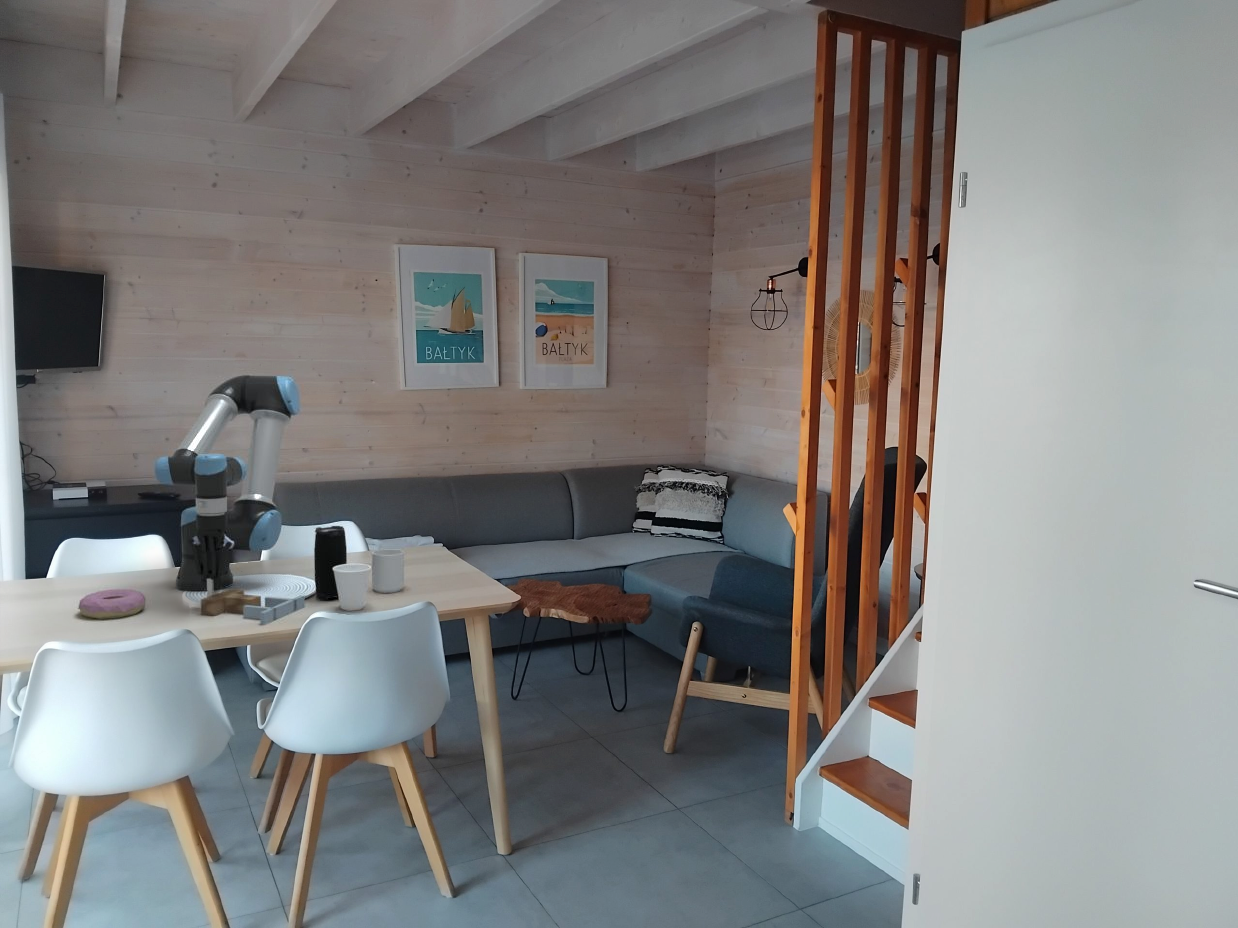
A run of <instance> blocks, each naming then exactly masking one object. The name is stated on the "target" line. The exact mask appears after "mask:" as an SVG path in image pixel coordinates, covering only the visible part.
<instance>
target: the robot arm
mask: <svg viewBox="0 0 1238 928" xmlns="http://www.w3.org/2000/svg"><path fill="white" fill-rule="evenodd" d="M300 408H301V397H300V391H299V388H298V385H297V383H296V381H295V380H294V379H293V378H292V377H290V376H285V375H284V376H283V375H282V376H280V375H248V374H246V375H245V374H243V375H242V374H241V375H237V376H234V377H232V378H229V379H228V380H225V381H224V382H222V383H220V384H219V385H218V386H217V387H215V388H214V389H213V390H212V391H211V392H210V393H209V395H208V396H207V398H206V399H205V402H204V409H203V410H202V411H201V413H200V415H199V416H198V418H197V419H196V420H195V422H194V424H193V425H192V427H191V428H190V430H189V431H188V432H187V434H186V436H185V437H184V438H183V440H182V441H181V443H180V444H179V446H178V447H177V449H176V450H175V452H174V453H173V454H172V456H169V455H167V456H161V457H159V458H157V460H156V462H155V466H154V475H155V476H154V477H155V479H156V480H157V482H158V483H159V484H161V485H171V486H194V487H195V506H193V507H192V506H191V507H188V508H186V509H184V510H183V511H182V512H181V516H180V517H181V520H180V531H181V533H180V534H181V536H180V537H181V554H182V555H181V557H182V558H181V564H180V567H179V568H178V573H177V576H176V579H175V580H176V581H175V583H176V586H175V587H176V588H177V589H179V590H183V591H189V590H203V591H206V595H207V596H206V597H209V596H212V595H215V594H218V593H220V592H219V591H220V590H221V589H224V588H227V587H226V586H228V587H229V585H230V586H232V585H233V584H234V575H233V573H232V570H231V567H230V564H231V559H232V555H233V551H252V552H258V551H259V552H260V551H269V550H270V549H272V548H273V547H274V546H275V545H276V543H277V542H278V540H279V538H280V535H281V532H282V525H283V524H282V519H283V518H282V515H281V513H280V511H278V510H277V505H276V504H275V503H274V502H273V499H274V491H275V486H276V485H275V484H276V478H277V472H278V465H279V460H280V454H281V449H282V448H281V447H282V441H283V435H284V428H285V426H287V425H289V424H290V423H291V419H292V416H296V415H299V412H300V410H301V409H300ZM244 414H248V415H249V418H250V419H251V420H252V421H253V423H252V424H253V425H252V431H251V437H250V443H249V448H248V454H247V460H246V464H245V462H244V461H243V460H242V459H241V458H238V457H236V456H226V455H225V454H224V453H223V454H222V453H210V452H211V451H212V449H213V447H214V446H215V445H216V443H217V441H218V439H220V436H221V435H222V433H223V432H224V430H225V428H226V427H227V425H228V424H229V422H231V421H233V420H235V419H236V417H238V415H244ZM241 482H243V483H242V487H241V495H240V497H238V498H237V499H235V500H234V502H233V508H231V509H228V490H227V489H228V487H231V486H235V485H238V484H239V483H241ZM223 587H224V588H223Z"/></svg>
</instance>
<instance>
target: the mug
mask: <svg viewBox="0 0 1238 928" xmlns="http://www.w3.org/2000/svg"><path fill="white" fill-rule="evenodd" d="M371 552H372V553H371V574H372V575H371V587H372V589H373V590H374V591H375V592H376V593H381V594H391V593H392V594H394V593H398V592H400V591H401V590H403V588H404V585H405V564H404V563H405V557H404V556H405V553H404V550H401V549H397V548H394V549H393V548H382V549H376V550H374V551H371Z"/></svg>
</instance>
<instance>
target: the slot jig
mask: <svg viewBox="0 0 1238 928" xmlns="http://www.w3.org/2000/svg"><path fill="white" fill-rule="evenodd" d="M305 599H306V598H305V595H298V596H295V597H294V598H287V597H286V598H284V597H278V596H277V597H275V596H266V597H264V606H262V605H261V606H250V605H245V606H243V614H242V615H243V619H244V618H245V619H252V620H254V619H255V620H259V623H260V624H259V625H261V626H262V625H265V626H266V625H267V624H269V623H271V622H274V621H276V620H278V619H280V618H283V617H284V616H287V615H289V614H292V613H294V612H296V611H299V610H301V609H302V608H304V607H305V606H306V603H305Z"/></svg>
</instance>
